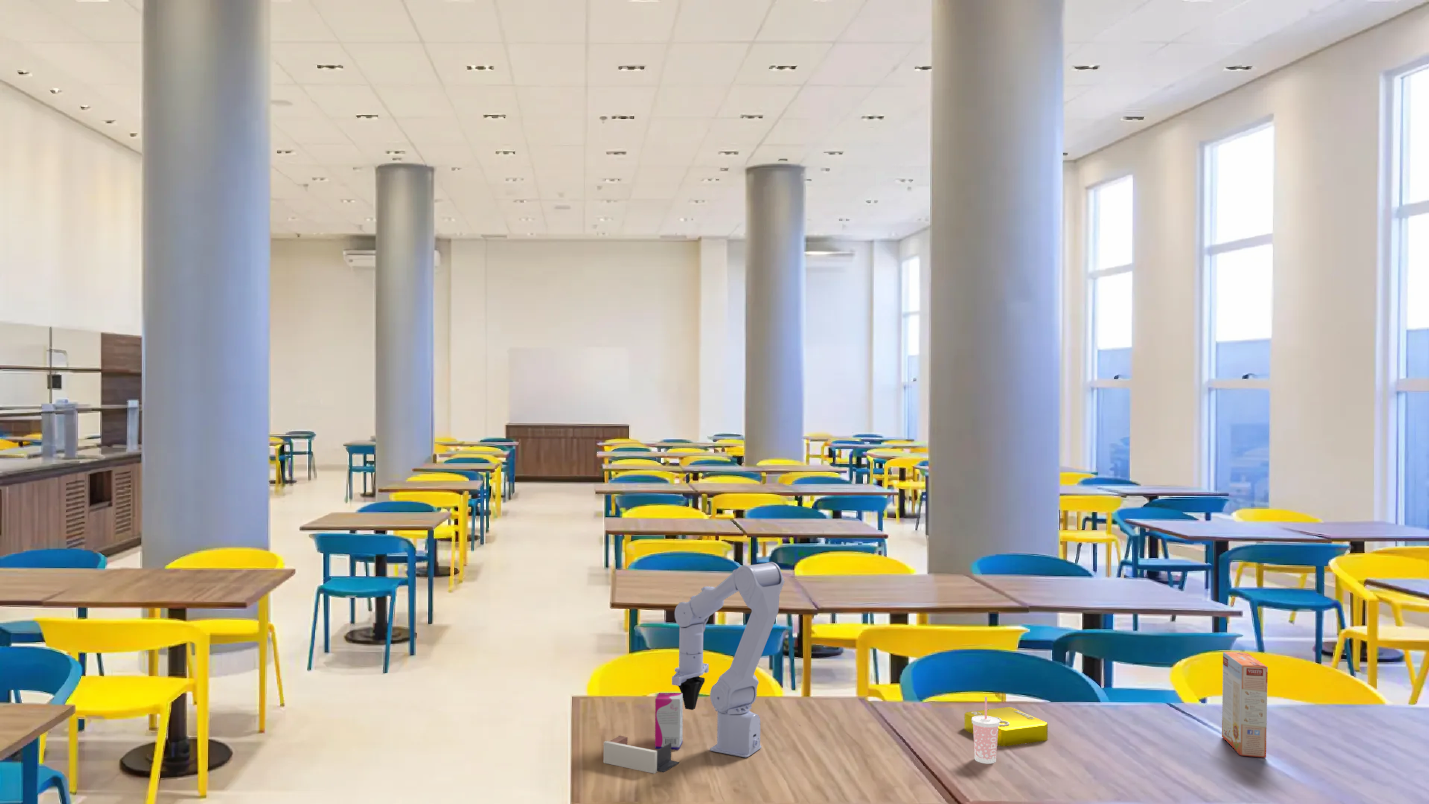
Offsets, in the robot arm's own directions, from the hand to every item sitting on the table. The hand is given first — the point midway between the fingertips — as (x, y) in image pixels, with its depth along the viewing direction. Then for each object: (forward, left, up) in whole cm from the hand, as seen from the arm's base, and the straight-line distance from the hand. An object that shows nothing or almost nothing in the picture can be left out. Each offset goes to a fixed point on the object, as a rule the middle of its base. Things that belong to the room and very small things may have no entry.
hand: (690, 708), depth 238 cm
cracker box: (-117, -56, -6) cm, 130 cm away
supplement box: (0, +10, -6) cm, 12 cm away
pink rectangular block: (+6, +22, -6) cm, 24 cm away
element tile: (-66, -38, -7) cm, 77 cm away
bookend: (-7, +22, -6) cm, 24 cm away
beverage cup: (-66, -17, -6) cm, 68 cm away
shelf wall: (0, +27, -6) cm, 27 cm away
